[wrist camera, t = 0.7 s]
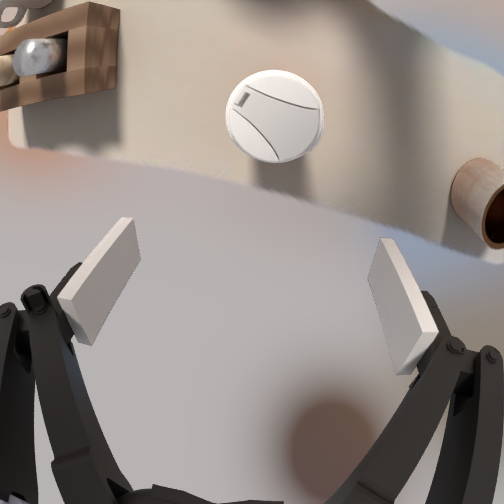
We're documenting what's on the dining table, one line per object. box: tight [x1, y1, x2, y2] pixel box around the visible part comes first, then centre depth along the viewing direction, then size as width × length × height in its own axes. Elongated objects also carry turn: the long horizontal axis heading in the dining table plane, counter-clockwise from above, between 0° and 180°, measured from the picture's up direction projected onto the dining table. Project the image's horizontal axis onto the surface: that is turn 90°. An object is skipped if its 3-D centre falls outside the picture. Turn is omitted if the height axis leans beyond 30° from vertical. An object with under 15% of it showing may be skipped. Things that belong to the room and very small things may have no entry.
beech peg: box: [0, 54, 20, 86], centre depth 24 cm, size 4×4×8 cm
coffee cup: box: [226, 70, 324, 163], centre depth 29 cm, size 8×8×15 cm
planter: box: [451, 158, 504, 250], centre depth 34 cm, size 11×11×10 cm
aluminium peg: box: [13, 38, 68, 76], centre depth 24 cm, size 4×4×8 cm
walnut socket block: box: [0, 2, 120, 111], centre depth 28 cm, size 12×20×8 cm, turn 85°
